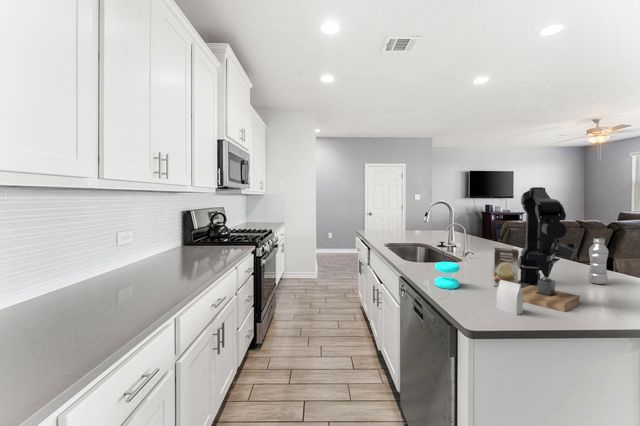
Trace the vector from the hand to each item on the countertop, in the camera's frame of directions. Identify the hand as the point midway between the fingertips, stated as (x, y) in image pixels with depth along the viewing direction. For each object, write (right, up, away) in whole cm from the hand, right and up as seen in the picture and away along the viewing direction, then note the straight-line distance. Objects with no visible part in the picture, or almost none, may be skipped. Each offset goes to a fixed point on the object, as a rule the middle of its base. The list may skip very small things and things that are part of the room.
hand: (546, 277), depth 117 cm
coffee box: (-3, -8, +21) cm, 23 cm away
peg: (0, -9, 0) cm, 9 cm away
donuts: (-28, -8, +21) cm, 36 cm away
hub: (0, -9, 0) cm, 9 cm away
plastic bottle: (+39, -8, +23) cm, 46 cm away
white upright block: (-19, -10, -9) cm, 23 cm away
